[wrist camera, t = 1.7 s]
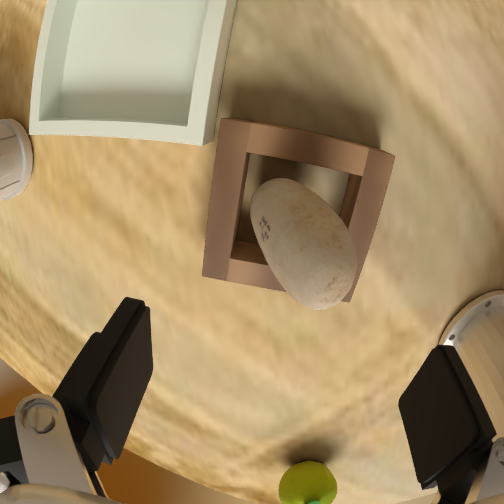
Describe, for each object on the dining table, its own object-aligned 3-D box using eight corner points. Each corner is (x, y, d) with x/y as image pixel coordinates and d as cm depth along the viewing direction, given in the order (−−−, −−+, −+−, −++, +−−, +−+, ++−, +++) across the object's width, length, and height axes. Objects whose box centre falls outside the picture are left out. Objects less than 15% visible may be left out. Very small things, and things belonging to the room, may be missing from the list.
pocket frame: (380, 149, 22) (395, 156, 19) (342, 280, 28) (349, 302, 24) (229, 117, 22) (221, 118, 19) (210, 256, 28) (201, 276, 25)
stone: (257, 163, 24) (235, 211, 13) (337, 175, 24) (380, 231, 13) (249, 232, 26) (226, 321, 16) (324, 242, 26) (348, 335, 15)
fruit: (270, 468, 45) (266, 517, 36) (300, 448, 41) (299, 504, 32) (313, 477, 46) (313, 522, 37) (346, 458, 42) (350, 508, 33)
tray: (246, -39, 16) (240, -58, 13) (213, 140, 23) (202, 145, 20) (78, -23, 17) (57, -33, 13) (53, 129, 24) (29, 134, 20)
